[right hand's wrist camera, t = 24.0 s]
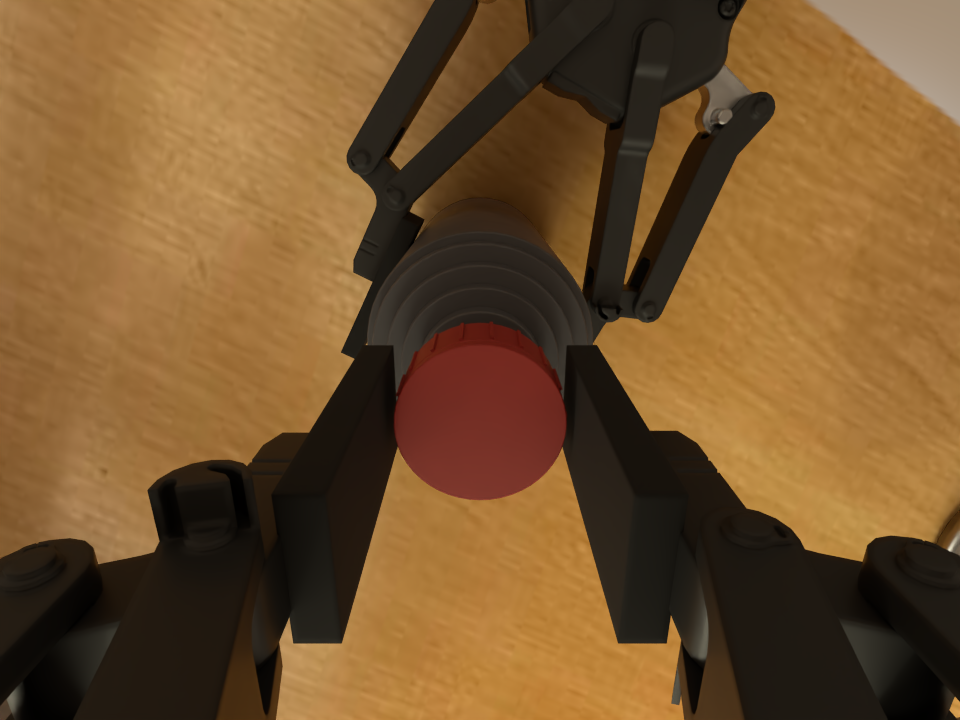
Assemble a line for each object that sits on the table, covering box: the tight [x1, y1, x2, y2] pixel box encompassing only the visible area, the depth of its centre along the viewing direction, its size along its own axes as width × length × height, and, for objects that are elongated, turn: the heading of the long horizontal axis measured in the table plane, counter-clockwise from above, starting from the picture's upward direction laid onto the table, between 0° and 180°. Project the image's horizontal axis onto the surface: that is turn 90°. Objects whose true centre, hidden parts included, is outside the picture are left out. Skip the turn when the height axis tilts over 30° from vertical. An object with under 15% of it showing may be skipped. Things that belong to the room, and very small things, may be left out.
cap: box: [393, 322, 567, 500], centre depth 13 cm, size 4×4×2 cm
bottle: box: [367, 198, 593, 400], centre depth 22 cm, size 7×7×19 cm
